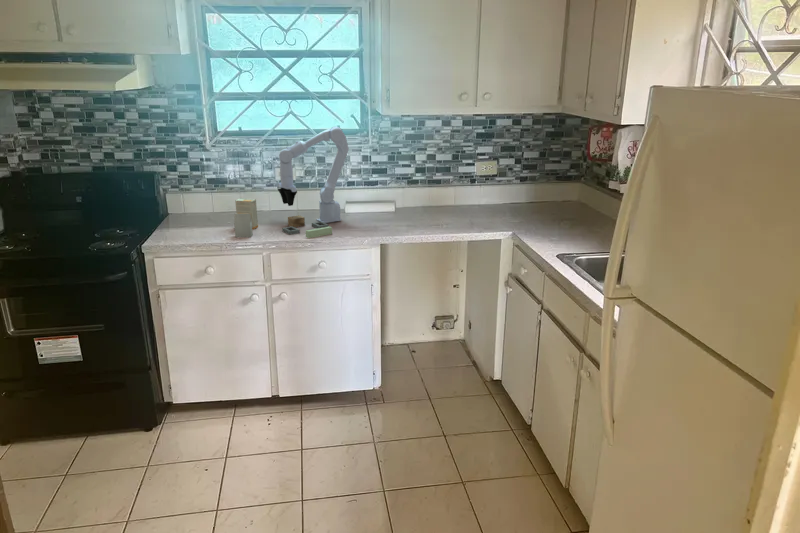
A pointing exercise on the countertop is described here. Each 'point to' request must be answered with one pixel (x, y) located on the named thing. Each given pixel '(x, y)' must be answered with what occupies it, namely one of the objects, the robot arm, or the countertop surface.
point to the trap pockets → (320, 231)
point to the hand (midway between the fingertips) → (288, 204)
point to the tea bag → (243, 225)
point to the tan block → (296, 221)
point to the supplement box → (247, 209)
